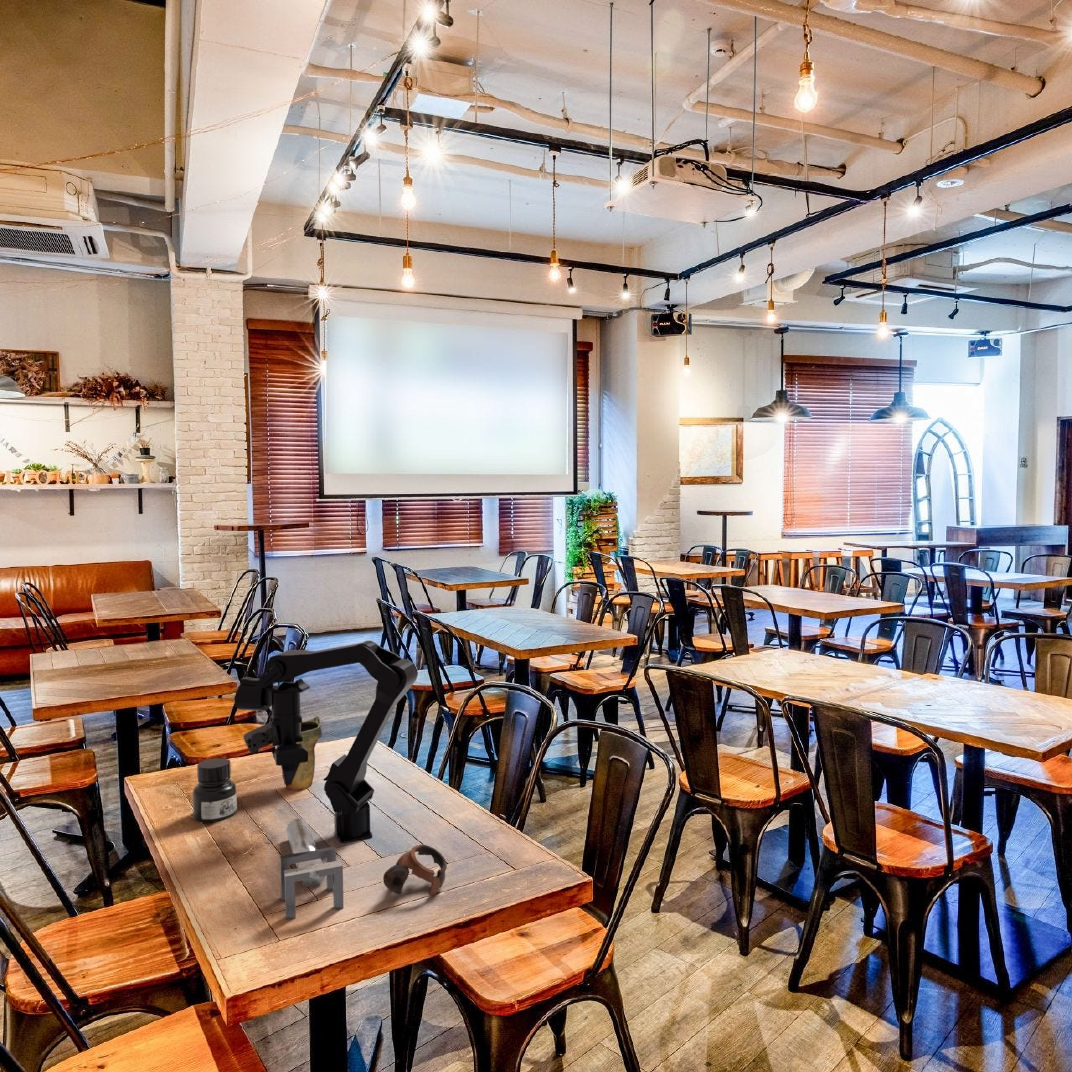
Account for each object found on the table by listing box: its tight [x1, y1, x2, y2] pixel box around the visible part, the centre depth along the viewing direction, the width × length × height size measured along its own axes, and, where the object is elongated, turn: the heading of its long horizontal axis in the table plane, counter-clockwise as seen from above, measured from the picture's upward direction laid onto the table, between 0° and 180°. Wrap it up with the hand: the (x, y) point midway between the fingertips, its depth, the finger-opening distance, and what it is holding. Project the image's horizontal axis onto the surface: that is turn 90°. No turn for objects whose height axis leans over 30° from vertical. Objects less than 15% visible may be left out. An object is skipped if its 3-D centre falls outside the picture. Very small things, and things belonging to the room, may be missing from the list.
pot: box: [269, 715, 323, 791], centre depth 194 cm, size 17×11×18 cm, turn 150°
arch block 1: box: [279, 846, 337, 902], centre depth 143 cm, size 9×1×8 cm, turn 114°
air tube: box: [285, 818, 326, 888], centre depth 155 cm, size 22×4×4 cm, turn 24°
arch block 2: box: [284, 859, 344, 921], centre depth 136 cm, size 9×1×8 cm, turn 114°
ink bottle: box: [192, 757, 238, 824], centre depth 178 cm, size 10×9×12 cm
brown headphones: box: [383, 844, 448, 897], centre depth 143 cm, size 12×9×8 cm
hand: (288, 784), depth 170 cm, fingers closed
